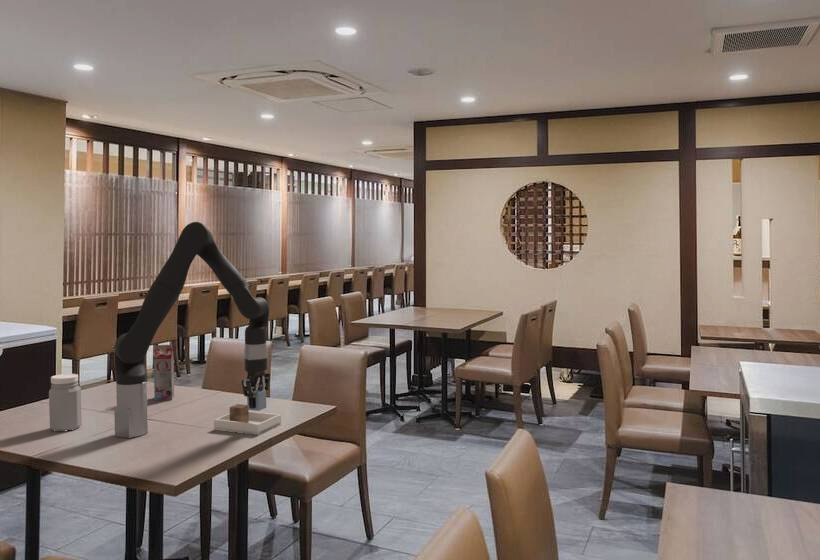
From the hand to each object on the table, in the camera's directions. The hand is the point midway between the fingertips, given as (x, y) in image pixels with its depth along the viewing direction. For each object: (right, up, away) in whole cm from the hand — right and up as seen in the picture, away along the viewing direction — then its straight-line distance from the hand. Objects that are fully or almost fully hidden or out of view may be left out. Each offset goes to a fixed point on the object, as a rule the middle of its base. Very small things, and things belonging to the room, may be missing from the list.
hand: (256, 406), depth 217 cm
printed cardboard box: (-48, -6, +42) cm, 64 cm away
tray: (-3, -8, +1) cm, 8 cm away
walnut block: (-7, -6, +3) cm, 10 cm away
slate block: (0, -1, 0) cm, 1 cm away
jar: (-65, -8, 0) cm, 65 cm away
